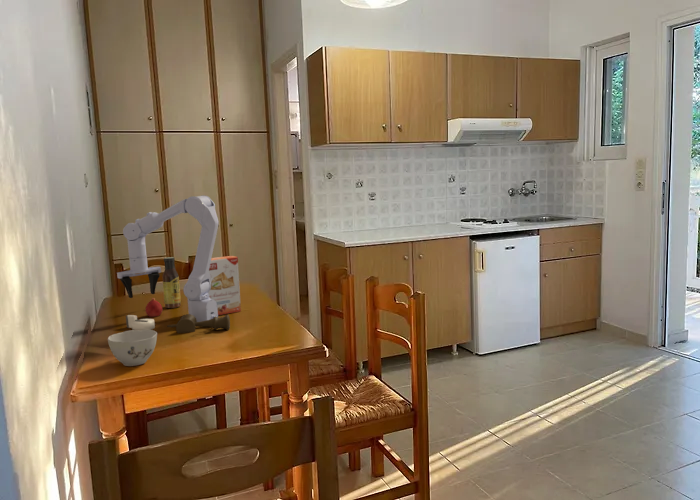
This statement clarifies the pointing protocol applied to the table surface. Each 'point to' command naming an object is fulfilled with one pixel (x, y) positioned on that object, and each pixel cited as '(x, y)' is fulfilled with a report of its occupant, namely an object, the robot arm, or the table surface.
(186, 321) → the kendama
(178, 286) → the sauce bottle
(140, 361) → the white floral bowl
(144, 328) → the miniature toilet
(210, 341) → the table surface
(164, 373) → the table surface
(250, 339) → the table surface
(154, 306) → the onion
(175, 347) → the table surface
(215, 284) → the cracker box
